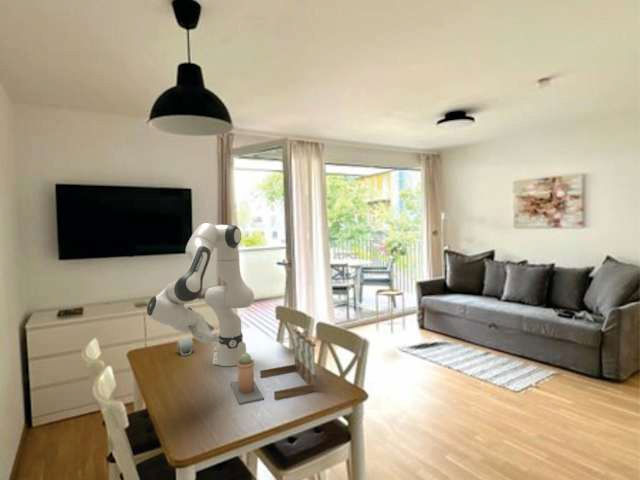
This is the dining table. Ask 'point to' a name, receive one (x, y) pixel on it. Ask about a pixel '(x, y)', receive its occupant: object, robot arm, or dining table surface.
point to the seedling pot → (245, 373)
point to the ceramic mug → (185, 346)
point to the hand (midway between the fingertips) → (215, 334)
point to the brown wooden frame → (297, 367)
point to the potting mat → (246, 394)
